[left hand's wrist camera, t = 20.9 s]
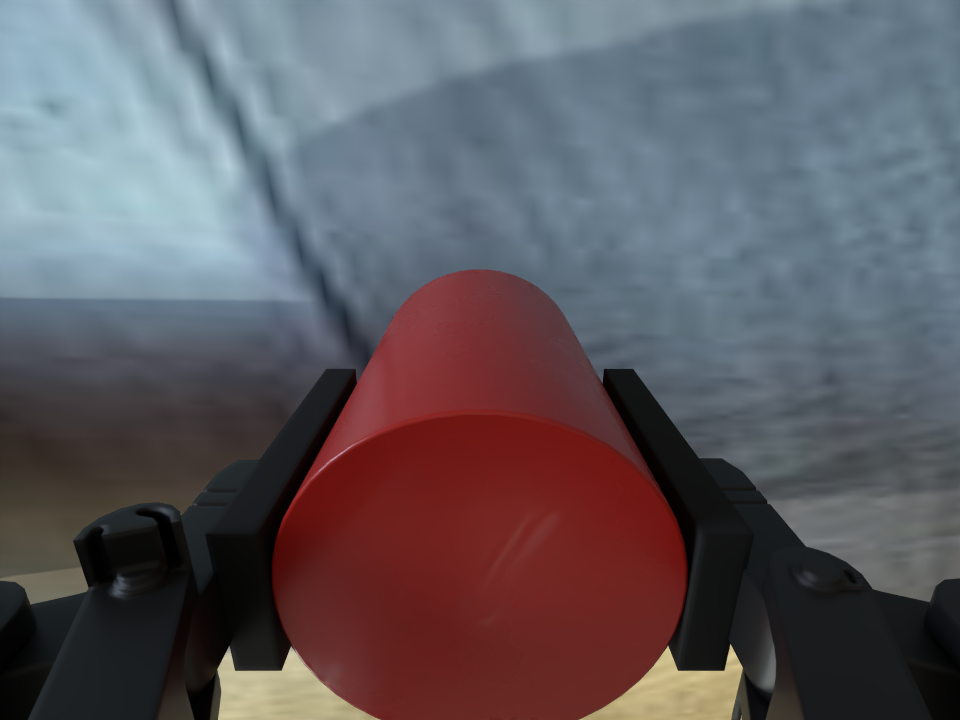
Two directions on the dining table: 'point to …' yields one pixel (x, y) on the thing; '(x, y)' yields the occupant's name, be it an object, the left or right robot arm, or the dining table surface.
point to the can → (479, 523)
